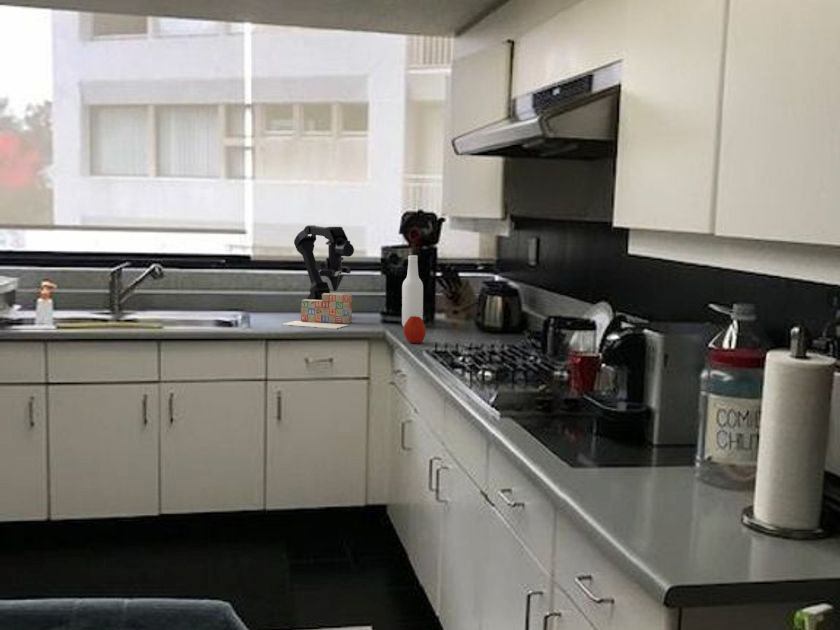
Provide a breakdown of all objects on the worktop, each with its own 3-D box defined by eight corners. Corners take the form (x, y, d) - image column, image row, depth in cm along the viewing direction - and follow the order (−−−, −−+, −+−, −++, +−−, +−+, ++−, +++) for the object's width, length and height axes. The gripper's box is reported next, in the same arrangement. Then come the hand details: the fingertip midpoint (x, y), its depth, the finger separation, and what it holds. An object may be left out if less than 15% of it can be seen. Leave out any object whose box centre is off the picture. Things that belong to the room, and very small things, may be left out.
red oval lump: (400, 343, 340) (400, 315, 339) (408, 340, 348) (408, 312, 347) (420, 345, 338) (421, 316, 336) (428, 341, 345) (429, 313, 344)
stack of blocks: (300, 321, 393) (300, 293, 391) (303, 320, 399) (304, 292, 398) (349, 323, 390) (350, 294, 389) (352, 322, 397) (352, 293, 396)
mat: (295, 321, 396) (295, 320, 396) (348, 325, 386) (348, 324, 386) (281, 325, 385) (281, 324, 385) (335, 329, 375) (335, 328, 375)
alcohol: (397, 326, 385) (398, 255, 381) (410, 324, 391) (411, 254, 388) (414, 328, 379) (414, 256, 375) (426, 326, 386) (427, 255, 382)
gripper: (329, 253, 410) (329, 288, 412) (308, 255, 393) (308, 291, 395) (351, 254, 406) (351, 289, 408) (331, 256, 388) (331, 293, 391)
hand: (335, 290), depth 400 cm, fingers closed
